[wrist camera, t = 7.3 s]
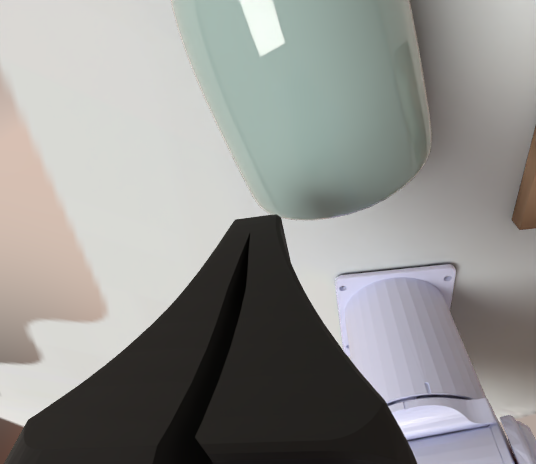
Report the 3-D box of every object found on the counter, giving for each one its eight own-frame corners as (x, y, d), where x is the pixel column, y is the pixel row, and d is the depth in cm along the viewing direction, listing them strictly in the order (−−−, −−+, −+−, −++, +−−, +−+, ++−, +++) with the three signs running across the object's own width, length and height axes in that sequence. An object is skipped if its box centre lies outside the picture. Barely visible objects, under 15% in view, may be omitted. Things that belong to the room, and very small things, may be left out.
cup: (269, -208, 6) (389, 231, 12) (419, -208, 11) (458, 115, 16) (86, -33, 12) (225, 217, 17) (235, -79, 16) (310, 133, 21)
